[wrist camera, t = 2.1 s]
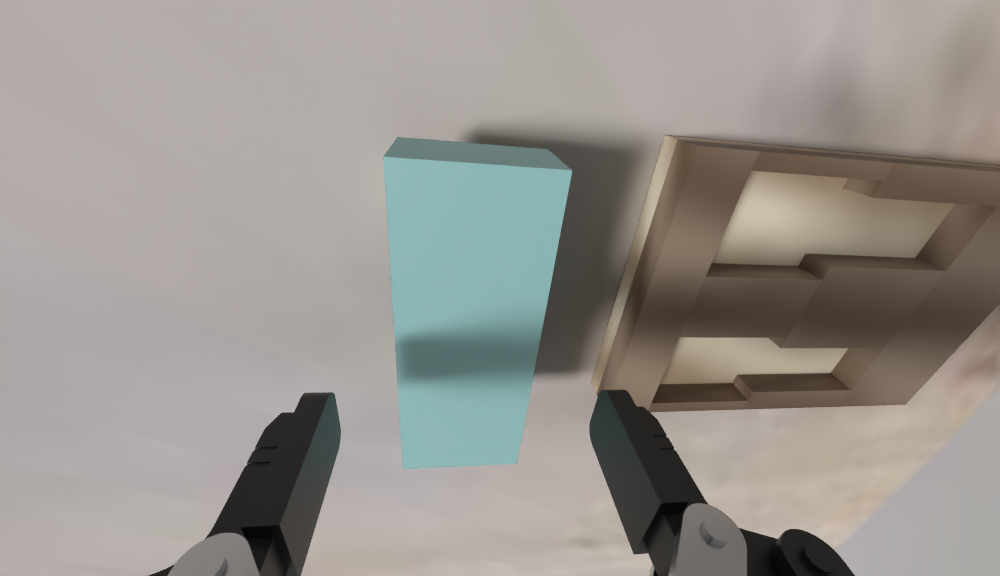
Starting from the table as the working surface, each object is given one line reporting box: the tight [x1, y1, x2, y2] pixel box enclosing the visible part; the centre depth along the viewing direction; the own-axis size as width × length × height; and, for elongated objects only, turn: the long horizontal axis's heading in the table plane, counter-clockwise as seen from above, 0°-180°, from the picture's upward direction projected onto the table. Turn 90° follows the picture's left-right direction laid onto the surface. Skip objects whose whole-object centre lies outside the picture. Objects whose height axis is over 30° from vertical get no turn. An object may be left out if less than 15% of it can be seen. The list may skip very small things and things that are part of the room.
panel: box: [383, 137, 572, 469], centre depth 15 cm, size 13×5×6 cm, turn 175°
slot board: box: [591, 135, 1000, 412], centre depth 19 cm, size 14×20×2 cm
